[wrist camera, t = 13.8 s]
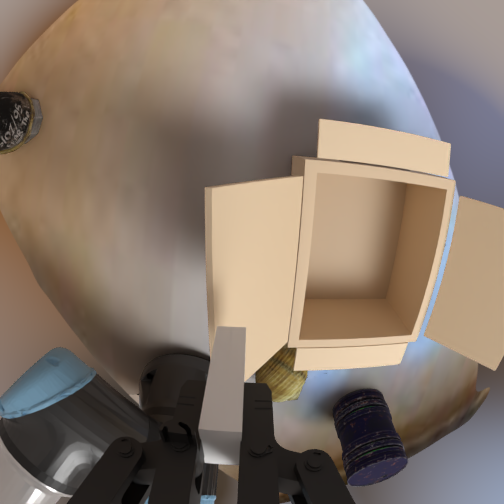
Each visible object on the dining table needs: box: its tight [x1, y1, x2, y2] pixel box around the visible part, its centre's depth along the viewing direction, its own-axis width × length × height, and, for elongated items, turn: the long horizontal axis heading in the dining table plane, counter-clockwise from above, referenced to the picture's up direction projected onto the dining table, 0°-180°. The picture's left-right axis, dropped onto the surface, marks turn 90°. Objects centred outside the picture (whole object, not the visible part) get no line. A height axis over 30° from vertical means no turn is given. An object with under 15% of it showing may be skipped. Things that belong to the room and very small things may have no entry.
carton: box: [287, 119, 455, 371], centre depth 29 cm, size 15×25×9 cm, turn 178°
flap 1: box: [205, 175, 303, 381], centre depth 21 cm, size 10×15×1 cm
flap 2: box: [424, 196, 504, 371], centre depth 21 cm, size 10×15×1 cm
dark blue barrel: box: [333, 389, 408, 487], centre depth 37 cm, size 10×10×15 cm
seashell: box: [255, 343, 308, 402], centre depth 38 cm, size 10×7×8 cm
